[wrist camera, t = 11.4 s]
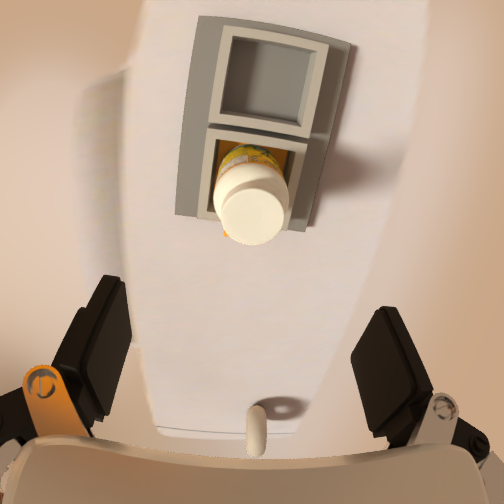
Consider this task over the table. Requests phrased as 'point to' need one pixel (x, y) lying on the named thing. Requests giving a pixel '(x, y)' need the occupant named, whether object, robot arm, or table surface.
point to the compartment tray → (258, 108)
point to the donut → (256, 431)
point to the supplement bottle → (251, 195)
